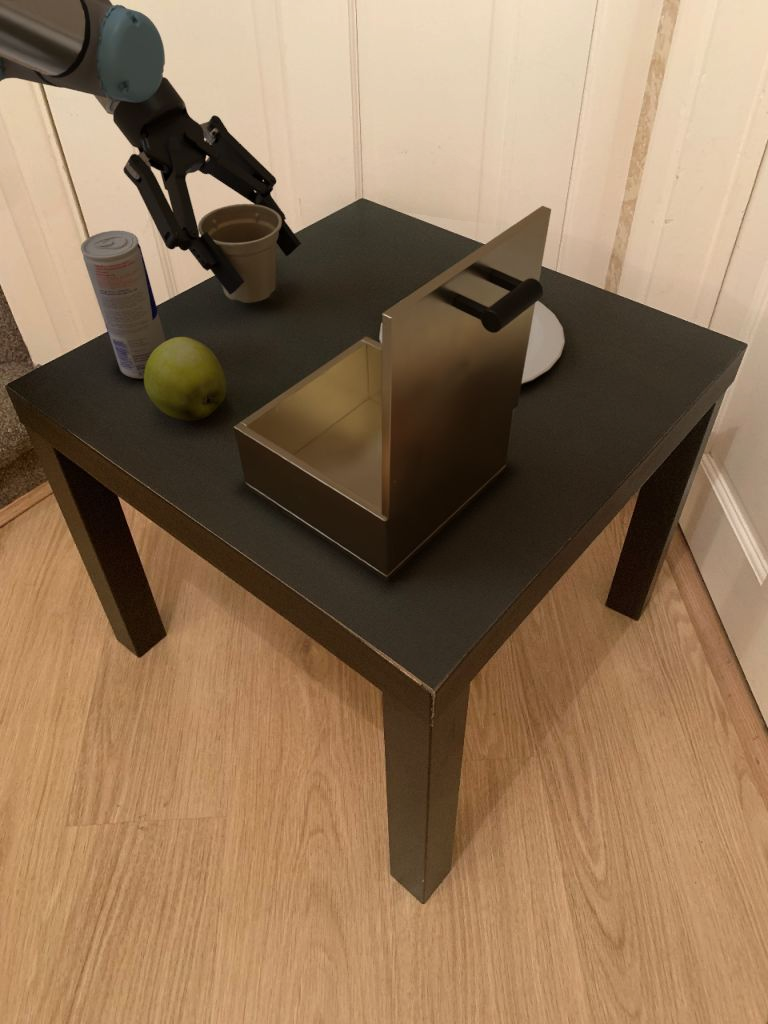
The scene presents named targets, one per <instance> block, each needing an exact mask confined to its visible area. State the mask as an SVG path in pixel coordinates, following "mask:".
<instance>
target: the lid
mask: <svg viewBox="0 0 768 1024" xmlns="http://www.w3.org/2000/svg"><path fill="white" fill-rule="evenodd" d="M551 214H552V209H551V208H550V207H548V206H545V205H541V206H540V207H538V208H536V209H535V210H533V211H532V212H531V213H529V214H528V215H526V216H524V217H523V218H522V219H520V220H519V221H517V222H516V223H514V224H513V225H511V226H510V227H508V228H507V229H505V230H504V231H502V232H501V233H499V234H498V235H497V236H495V237H493V238H492V239H490V240H489V241H488V242H486V243H485V244H483V245H481V246H480V247H478V248H477V249H475V250H474V251H473V252H472V253H470V254H468V255H467V256H465V257H463V259H461V260H460V261H458V262H456V263H455V264H454V265H451V267H449V268H448V269H446V270H444V271H443V272H442V273H440V274H439V275H437V276H436V277H434V278H432V280H429V281H428V282H427V283H425V284H423V285H422V286H420V287H419V288H418V289H416V290H415V291H413V292H412V293H411V294H409V295H407V296H406V297H404V298H403V299H401V300H402V301H401V300H400V301H399V302H397V303H395V304H394V305H393V306H391V307H389V308H388V309H387V310H385V311H384V312H382V314H381V323H382V509H381V514H382V515H383V516H385V517H386V518H388V519H390V518H391V517H392V516H393V515H394V514H395V513H397V512H398V511H399V510H400V509H401V508H402V507H403V506H404V505H406V504H407V503H408V502H409V501H410V500H411V499H412V498H414V497H415V496H416V495H417V494H418V493H419V492H420V491H421V490H423V489H424V488H425V487H426V486H427V485H428V484H429V483H431V482H432V481H433V480H434V479H435V478H436V477H437V476H439V475H440V474H441V473H442V472H443V471H444V470H445V469H446V468H448V467H449V466H450V465H451V464H452V463H453V462H454V461H456V460H457V459H458V458H459V457H460V456H461V455H462V454H464V453H465V452H466V451H467V450H468V449H469V448H470V447H471V446H473V445H474V444H475V443H476V442H477V441H478V440H479V439H481V438H482V437H483V436H484V435H485V434H486V433H487V432H488V431H490V430H491V429H492V428H493V427H494V426H495V425H496V424H498V423H499V422H500V421H501V420H502V419H503V418H504V417H506V416H507V415H508V414H509V413H510V412H511V411H512V410H513V411H514V410H515V409H516V408H517V407H518V405H519V401H520V400H519V399H520V394H521V388H522V385H521V383H522V377H523V371H524V366H525V360H526V354H527V348H528V342H529V336H530V331H531V325H532V319H533V313H534V307H535V303H536V302H537V301H539V300H541V299H542V298H543V295H544V289H543V286H542V284H541V282H540V277H541V273H542V267H543V260H544V255H545V248H546V243H547V236H548V231H549V225H550V219H551Z"/></svg>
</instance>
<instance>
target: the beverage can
mask: <svg viewBox="0 0 768 1024" xmlns="http://www.w3.org/2000/svg"><path fill="white" fill-rule="evenodd" d="M138 238H139V237H137V236H136V234H134V233H133V232H130V231H126V230H108V231H102V232H99V233H96V234H94V235H91V236H89V237H88V238H86V239H85V240H84V241H83V242H82V243H81V245H80V251H81V254H82V257H83V261H84V264H85V267H86V270H87V274H88V277H89V279H90V283H91V285H92V288H93V292H94V295H95V298H96V300H97V304H98V307H99V310H100V313H101V316H102V319H103V322H104V325H105V328H106V331H107V334H108V337H109V340H110V343H111V346H112V349H113V352H114V355H115V358H116V361H117V364H118V368H119V371H120V372H121V373H122V374H123V375H125V376H127V377H129V378H132V379H140V380H141V379H144V372H145V367H146V363H147V361H148V359H149V357H150V355H151V353H152V352H153V351H154V350H155V349H156V348H157V347H158V346H159V345H161V344H162V343H163V342H165V341H167V340H166V337H165V332H164V329H163V326H162V322H161V318H160V315H159V314H160V313H159V311H158V308H157V302H156V299H155V295H154V293H153V289H152V284H151V280H150V277H149V274H148V270H147V265H146V262H145V259H144V255H143V251H142V248H141V244H140V243H139V239H138Z"/></svg>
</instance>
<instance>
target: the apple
mask: <svg viewBox="0 0 768 1024" xmlns="http://www.w3.org/2000/svg"><path fill="white" fill-rule="evenodd" d="M143 384H144V389H145V391H146V393H147V396H148V397H149V399H150V400H151V402H152V403H153V404H154V405H155V406H156V407H157V408H158V409H159V411H161V412H162V413H164V414H166V415H167V416H169V417H171V418H174V419H176V420H181V421H200V420H203V419H206V418H208V416H210V415H211V414H213V412H215V411H216V409H217V408H218V407H219V406H220V405H221V404H222V403H223V401H224V400H225V398H226V394H227V380H226V376H225V373H224V370H223V368H222V366H221V364H220V362H219V360H218V357H216V354H215V353H214V352H213V351H212V350H211V349H210V348H209V347H208V346H206V345H205V344H204V343H202V342H200V341H198V340H196V339H194V338H191V337H187V336H177V337H172V338H170V339H167V340H166V341H165V342H163V343H162V344H161V345H159V346H158V347H157V348H156V349H155V350H154V351H153V352H152V353H151V355H150V357H149V359H148V361H147V363H146V367H145V372H144V378H143Z"/></svg>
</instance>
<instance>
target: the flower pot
mask: <svg viewBox="0 0 768 1024" xmlns="http://www.w3.org/2000/svg"><path fill="white" fill-rule="evenodd" d="M281 225H282V220H281V217H280V215H279V214H278V213H277V212H276V211H274V210H272V209H270V208H268V207H265V206H262V205H257V204H254V203H236V204H229V205H225V206H221V207H219V208H216V209H213V210H211V211H209V212H207V213H206V214H204V215H203V216H202V217H201V219H200V220H199V222H198V223H197V226H198V230H199V235H200V236H201V235H203V234H204V233H206V232H207V233H208V234H209V236H210V237H211V238H212V239H213V241H214V242H215V243H216V245H217V246H218V247H219V249H220V250H221V251H222V253H223V254H224V255H225V257H226V258H227V259H228V261H229V262H230V263H231V264H232V266H233V267H234V268H235V270H236V271H237V272H238V274H239V275H240V276H241V278H242V279H243V280H244V283H243V284H242V285H241V286H240V287H239V288H238V289H237V290H236V291H235V292H233V293H232V294H229V293H228V292H227V290H226V289H225V288H224V286H223V285H222V284H221V287H222V290H223V293H224V295H225V296H226V297H227V299H229V300H231V301H239V302H241V303H243V304H251V303H257V302H261V301H263V300H266V299H268V298H269V297H270V296H271V294H272V293H273V292H275V291H276V278H277V277H276V276H277V274H276V273H277V272H276V271H277V266H276V265H277V246H278V244H277V239H278V236H279V230H280V228H281Z"/></svg>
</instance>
